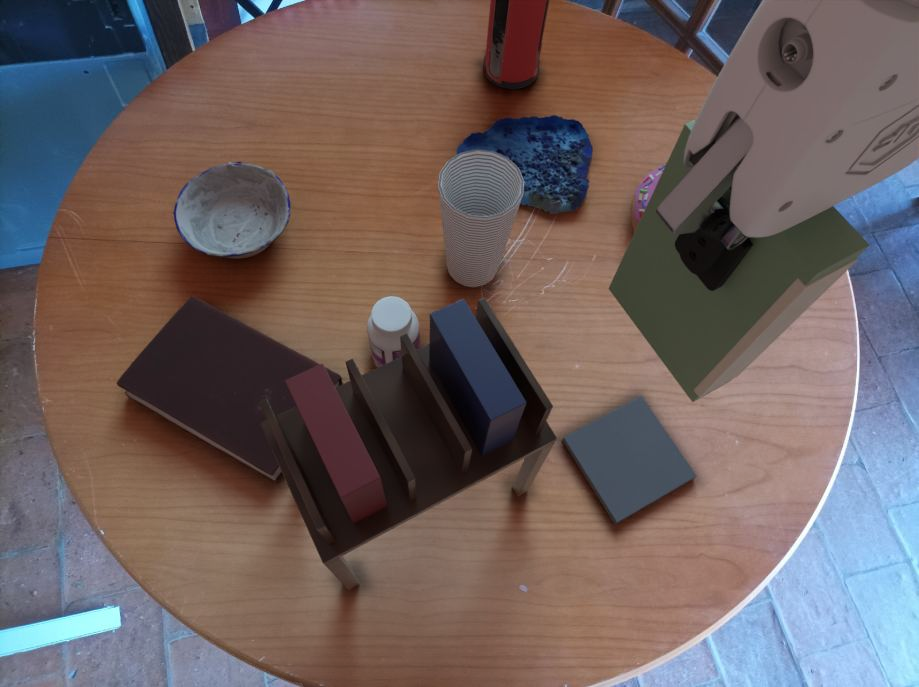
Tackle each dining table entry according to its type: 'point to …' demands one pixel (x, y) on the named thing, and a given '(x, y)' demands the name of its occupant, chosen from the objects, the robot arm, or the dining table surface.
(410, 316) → the pill bottle
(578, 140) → the rock
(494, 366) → the navy book
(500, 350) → the rack
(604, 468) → the mat
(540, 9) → the speaker
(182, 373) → the book
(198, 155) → the dining table surface
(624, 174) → the dining table surface
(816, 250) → the green book
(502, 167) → the cup
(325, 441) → the burgundy book
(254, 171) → the bowl
